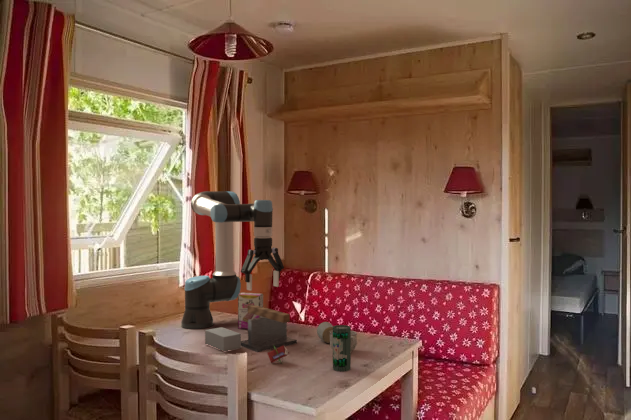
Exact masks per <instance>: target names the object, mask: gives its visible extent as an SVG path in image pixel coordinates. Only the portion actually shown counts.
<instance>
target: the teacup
mask: <svg viewBox="0 0 631 420" xmlns="http://www.w3.org/2000/svg"><path fill="white" fill-rule="evenodd" d="M357 336H358V332H357V331H354V330H351V353H352V352H353V351H354V350H355V349H356V347H357V345H358V339H357ZM329 346H330V348H331V349H332V350H333V330H332V331H330V343H329Z"/></svg>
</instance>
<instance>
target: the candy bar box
mask: <svg viewBox="0 0 631 420" xmlns="http://www.w3.org/2000/svg"><path fill="white" fill-rule="evenodd" d="M248 305H256V306H260V307H264V294H263V293H255V292H254V293H253V292H240V293H239V294H238V297H237V329H241V330H242V329H243V330H248V319H254V318H260V317H262V316H258V315H255V314H251V313H248Z"/></svg>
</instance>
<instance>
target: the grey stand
mask: <svg viewBox="0 0 631 420" xmlns="http://www.w3.org/2000/svg"><path fill="white" fill-rule="evenodd" d="M241 334H242V333H241V332H237V331H234V330H231V329H228V328H225V327H222V326H221V327H216V328H215V327H214V328H210V329H205V330H204V345H205V344H208V345H211V346H213V347H216V348H218V349H220V350H223V351H227V352H229V351H228V350H231V351H234V350H235V351H236V350H240V349H242V346H241V341H242V335H241ZM208 345H207V346H208ZM213 347H212V348H213ZM220 350H219V351H220Z"/></svg>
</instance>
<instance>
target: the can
mask: <svg viewBox="0 0 631 420" xmlns="http://www.w3.org/2000/svg"><path fill="white" fill-rule="evenodd" d="M351 331H352V330H351V326H350V325H347V324H345V325H344V324H336V325H333V349H332V369H333V371H336V372H348V371H350V370H351V368H352V367H351V365H352V364H351V362H352V361H351V359H352V358H351V353H352V352H351Z"/></svg>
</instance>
